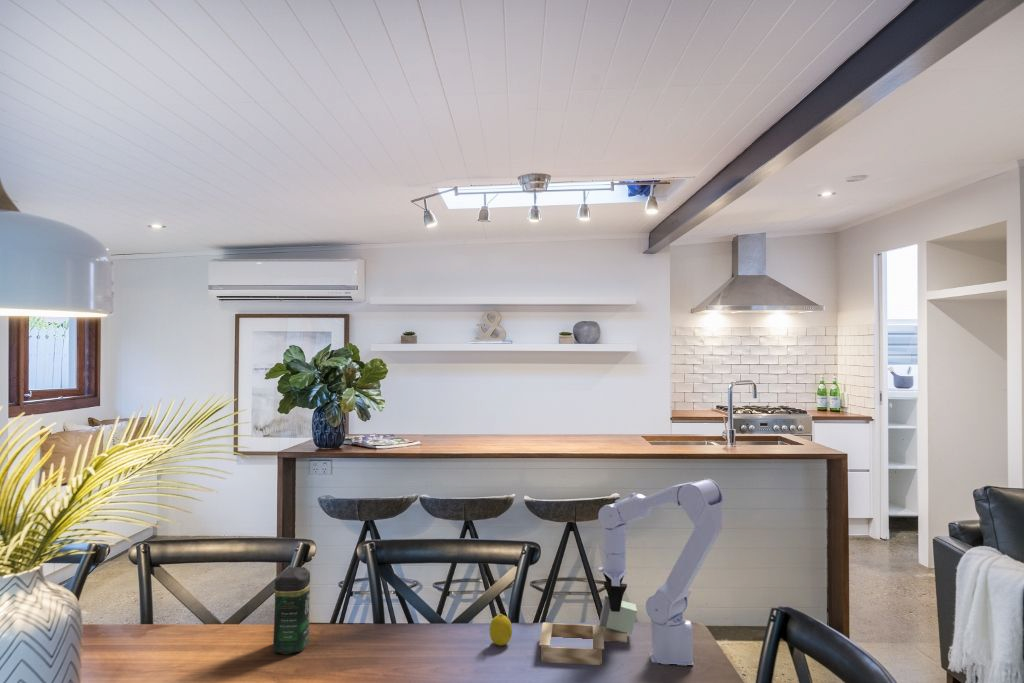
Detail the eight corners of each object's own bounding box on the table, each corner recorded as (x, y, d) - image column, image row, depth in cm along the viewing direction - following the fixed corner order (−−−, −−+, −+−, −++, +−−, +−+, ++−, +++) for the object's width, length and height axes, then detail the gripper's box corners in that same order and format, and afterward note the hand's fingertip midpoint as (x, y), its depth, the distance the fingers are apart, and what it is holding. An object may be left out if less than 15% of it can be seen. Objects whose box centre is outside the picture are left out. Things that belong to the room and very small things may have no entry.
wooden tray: (602, 641, 165) (602, 624, 165) (604, 667, 151) (604, 649, 151) (543, 638, 166) (543, 621, 166) (538, 664, 152) (538, 645, 152)
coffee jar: (303, 655, 157) (304, 576, 157) (269, 655, 156) (270, 577, 157) (313, 637, 166) (313, 563, 167) (281, 638, 166) (281, 564, 166)
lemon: (502, 654, 158) (502, 620, 158) (484, 647, 161) (485, 614, 161) (516, 645, 162) (516, 613, 162) (498, 640, 165) (499, 608, 166)
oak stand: (625, 634, 169) (625, 624, 169) (627, 644, 163) (627, 634, 163) (602, 633, 170) (602, 623, 170) (602, 643, 164) (602, 633, 164)
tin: (630, 627, 168) (635, 604, 168) (631, 634, 163) (637, 611, 163) (599, 618, 169) (605, 595, 169) (600, 625, 164) (605, 602, 164)
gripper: (598, 542, 174) (598, 594, 174) (599, 559, 160) (599, 615, 160) (624, 543, 174) (625, 595, 173) (628, 560, 159) (628, 617, 159)
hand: (614, 605), depth 166 cm, fingers open, 7 cm apart
